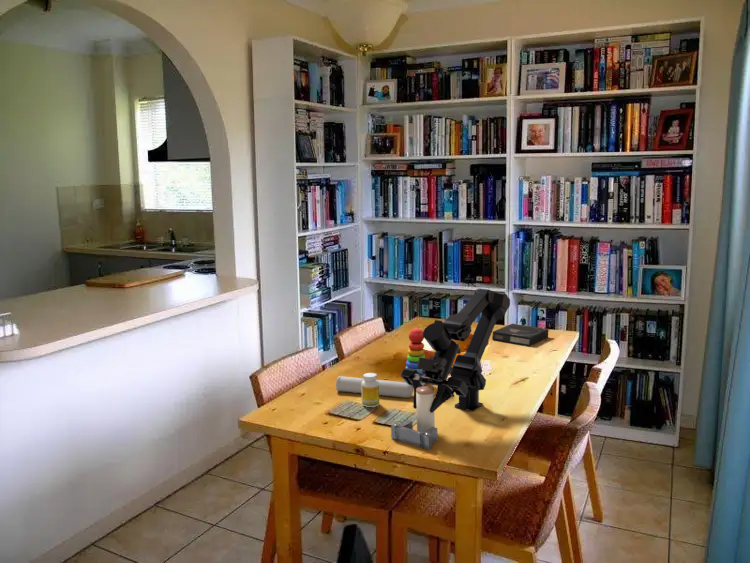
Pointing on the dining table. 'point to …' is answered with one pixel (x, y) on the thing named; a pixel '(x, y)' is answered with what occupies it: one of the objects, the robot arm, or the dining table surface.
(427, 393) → the mushroom
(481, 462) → the dining table surface
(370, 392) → the supplement bottle
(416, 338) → the stacking toy
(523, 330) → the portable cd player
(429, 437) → the bracket
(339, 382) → the tube
